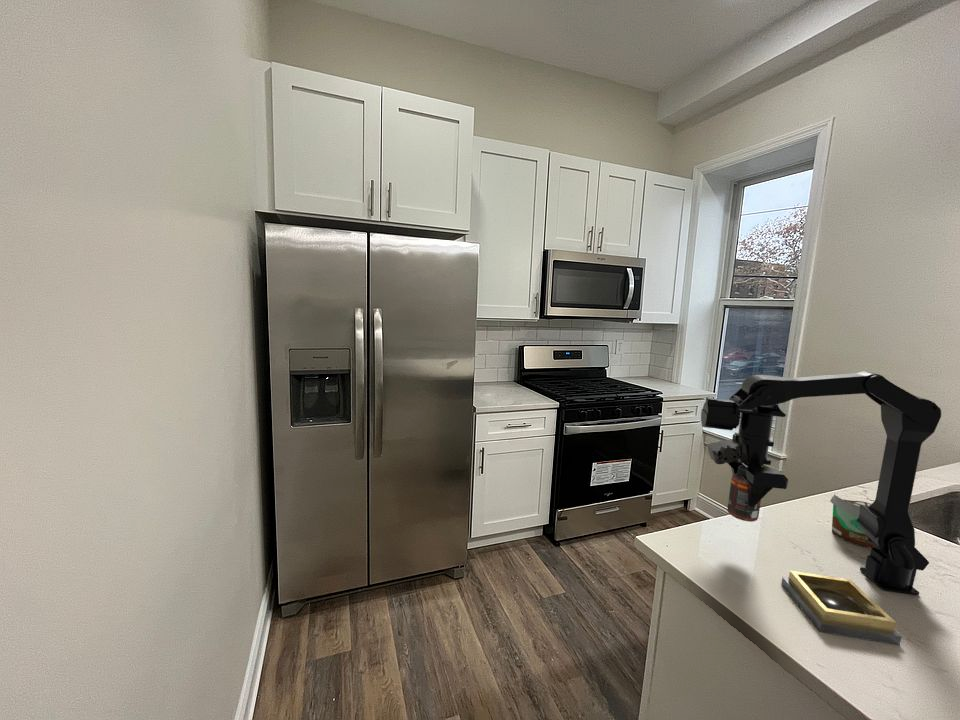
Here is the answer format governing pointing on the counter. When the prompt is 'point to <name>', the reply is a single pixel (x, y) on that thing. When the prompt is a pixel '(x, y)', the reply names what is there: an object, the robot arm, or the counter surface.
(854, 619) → the gold-rimmed square tray
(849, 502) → the food container
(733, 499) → the supplement bottle
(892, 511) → the robot arm
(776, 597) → the counter surface
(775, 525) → the counter surface
